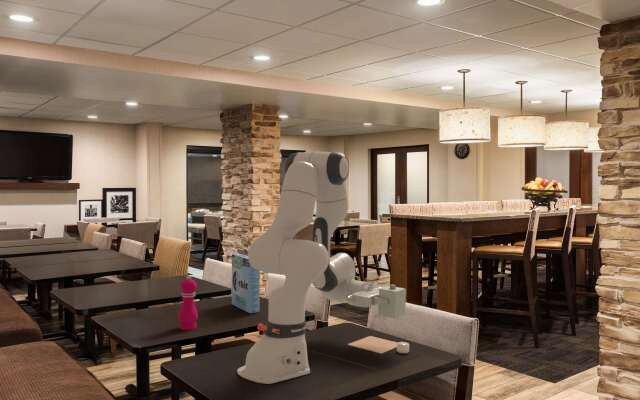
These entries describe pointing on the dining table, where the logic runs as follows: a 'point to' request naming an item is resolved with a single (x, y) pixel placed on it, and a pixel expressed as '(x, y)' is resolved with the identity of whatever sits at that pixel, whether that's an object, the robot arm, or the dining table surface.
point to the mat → (374, 344)
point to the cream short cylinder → (403, 347)
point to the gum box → (245, 284)
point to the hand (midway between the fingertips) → (394, 300)
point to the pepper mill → (188, 305)
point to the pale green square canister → (392, 301)
